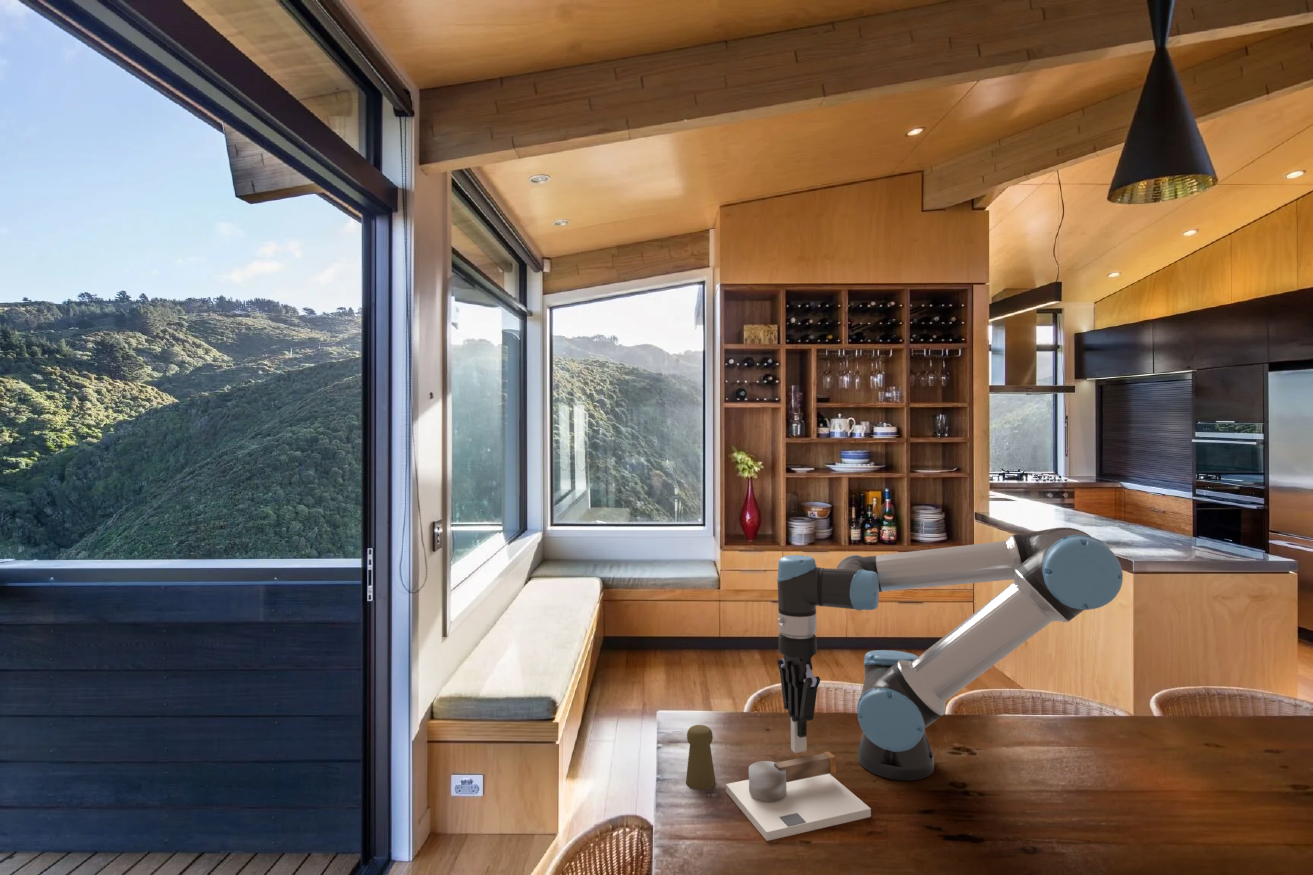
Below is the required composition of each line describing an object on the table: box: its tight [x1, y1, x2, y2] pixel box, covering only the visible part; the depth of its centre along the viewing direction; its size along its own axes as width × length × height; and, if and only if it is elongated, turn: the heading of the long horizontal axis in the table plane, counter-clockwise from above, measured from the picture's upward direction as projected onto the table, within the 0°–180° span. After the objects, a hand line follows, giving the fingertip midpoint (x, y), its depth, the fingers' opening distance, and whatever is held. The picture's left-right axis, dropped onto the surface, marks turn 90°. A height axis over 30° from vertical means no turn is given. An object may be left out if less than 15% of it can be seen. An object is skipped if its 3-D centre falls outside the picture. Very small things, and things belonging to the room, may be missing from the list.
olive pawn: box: [685, 724, 717, 791], centre depth 134 cm, size 6×6×11 cm
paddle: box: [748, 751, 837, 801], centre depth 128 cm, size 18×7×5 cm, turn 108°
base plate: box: [725, 774, 872, 842], centre depth 125 cm, size 21×17×2 cm
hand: (798, 749), depth 134 cm, fingers closed
